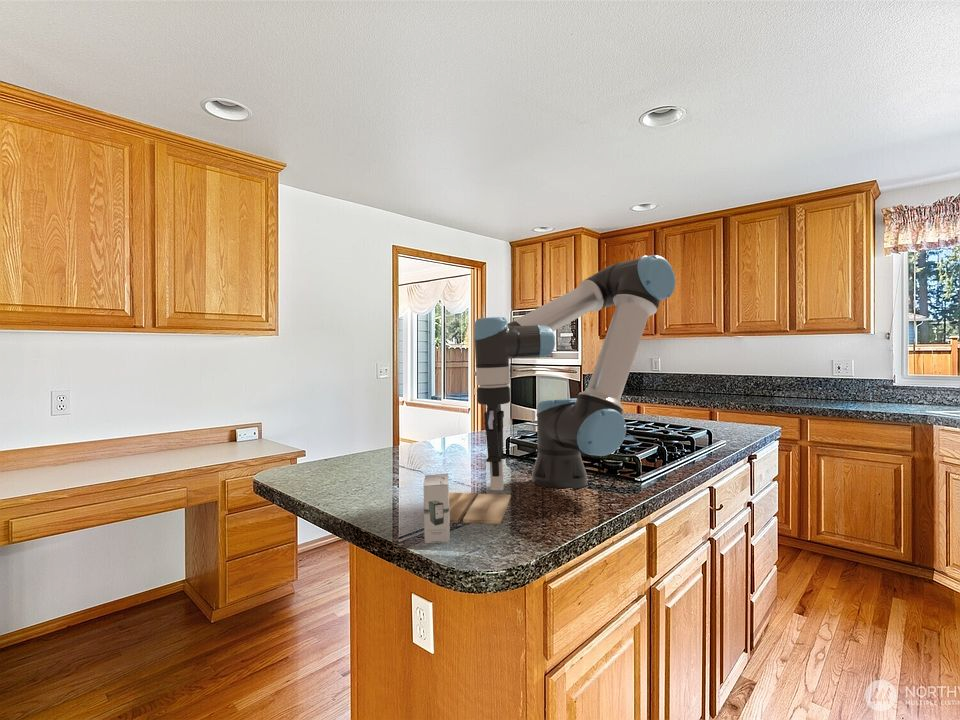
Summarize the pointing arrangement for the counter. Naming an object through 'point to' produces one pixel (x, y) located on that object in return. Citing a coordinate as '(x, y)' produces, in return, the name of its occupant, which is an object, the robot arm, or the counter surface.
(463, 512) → the floor strip
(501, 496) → the plank
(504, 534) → the counter surface
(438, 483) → the ink box
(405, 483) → the counter surface
